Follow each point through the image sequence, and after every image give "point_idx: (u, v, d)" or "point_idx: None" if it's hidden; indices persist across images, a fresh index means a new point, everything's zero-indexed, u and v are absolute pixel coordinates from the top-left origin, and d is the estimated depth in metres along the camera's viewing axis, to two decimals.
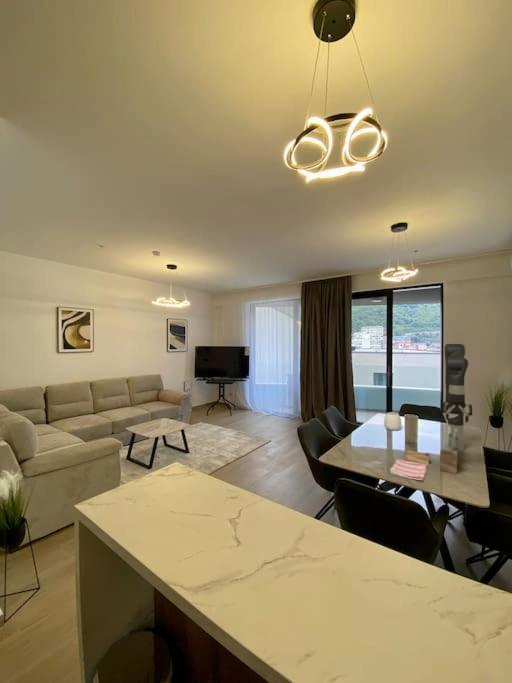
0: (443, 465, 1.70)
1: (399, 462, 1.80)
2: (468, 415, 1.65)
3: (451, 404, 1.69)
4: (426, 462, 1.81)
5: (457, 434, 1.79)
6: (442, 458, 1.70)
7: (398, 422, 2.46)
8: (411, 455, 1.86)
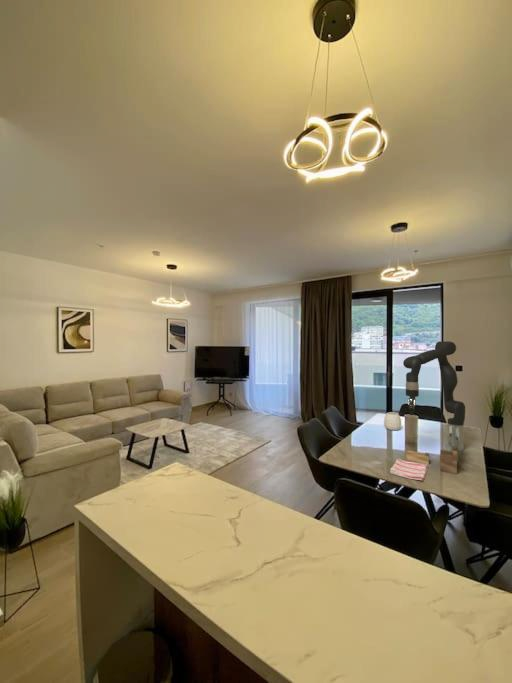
0: (443, 465, 1.70)
1: (399, 462, 1.80)
2: None
3: (413, 399, 1.91)
4: (426, 462, 1.81)
5: (457, 434, 1.80)
6: (442, 458, 1.70)
7: (398, 422, 2.46)
8: (411, 455, 1.86)
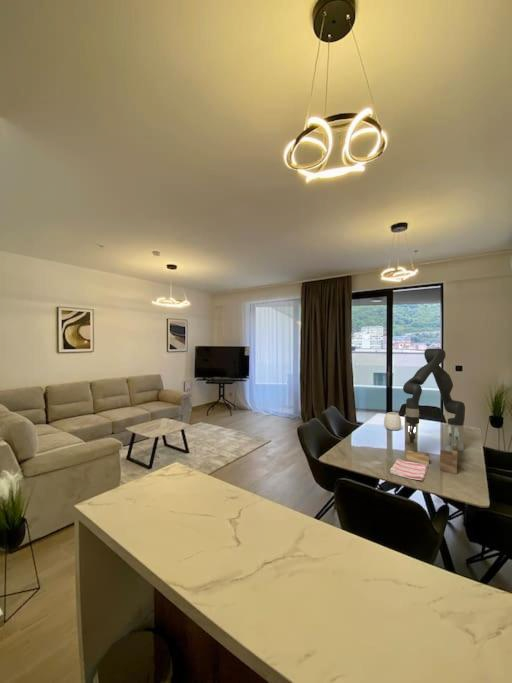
0: (443, 465, 1.70)
1: (399, 462, 1.80)
2: (415, 432, 1.91)
3: (414, 426, 1.84)
4: (426, 462, 1.81)
5: (457, 433, 1.80)
6: (442, 458, 1.70)
7: (398, 422, 2.46)
8: (411, 455, 1.86)
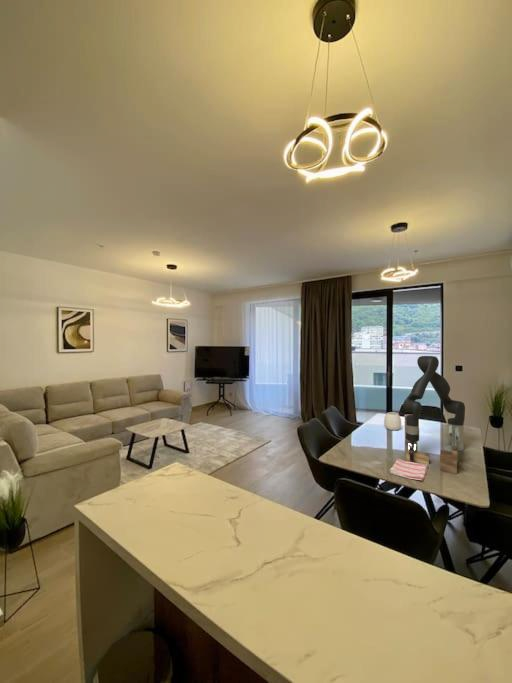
0: (443, 465, 1.70)
1: (399, 462, 1.80)
2: (415, 449, 1.91)
3: (414, 444, 1.84)
4: (426, 462, 1.81)
5: (457, 433, 1.80)
6: (442, 458, 1.70)
7: (398, 422, 2.46)
8: None
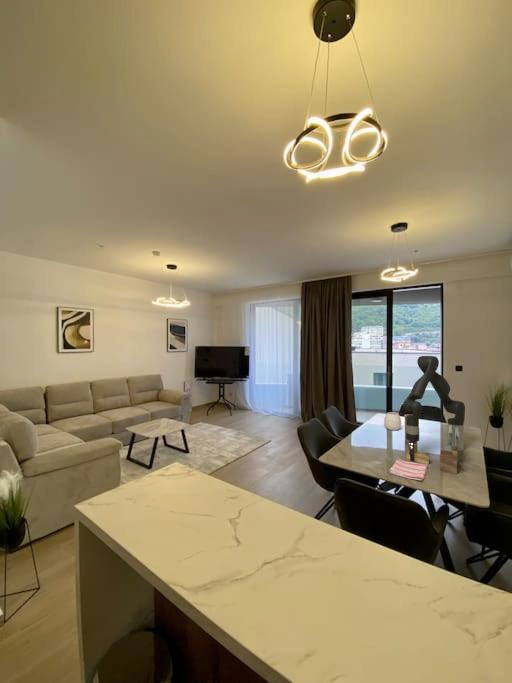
0: (443, 465, 1.70)
1: (399, 462, 1.80)
2: None
3: (414, 445, 1.84)
4: (426, 462, 1.81)
5: (457, 433, 1.81)
6: (442, 458, 1.70)
7: (398, 422, 2.46)
8: None
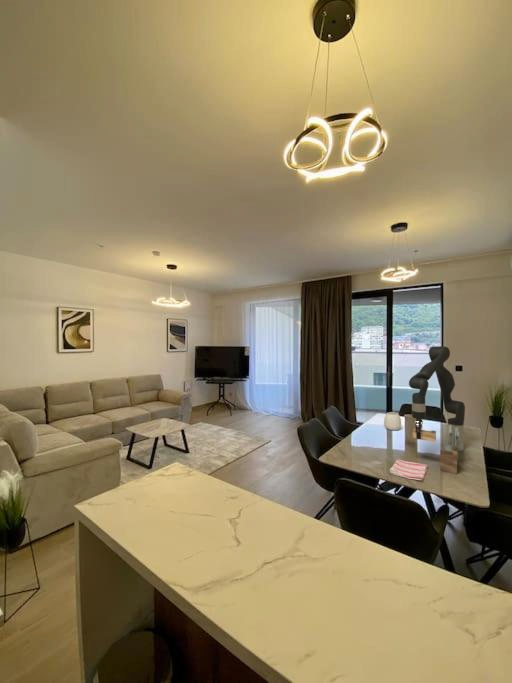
0: (443, 465, 1.70)
1: (399, 463, 1.79)
2: None
3: (420, 423, 1.81)
4: (432, 439, 1.78)
5: (457, 433, 1.81)
6: (442, 458, 1.70)
7: (398, 422, 2.46)
8: None
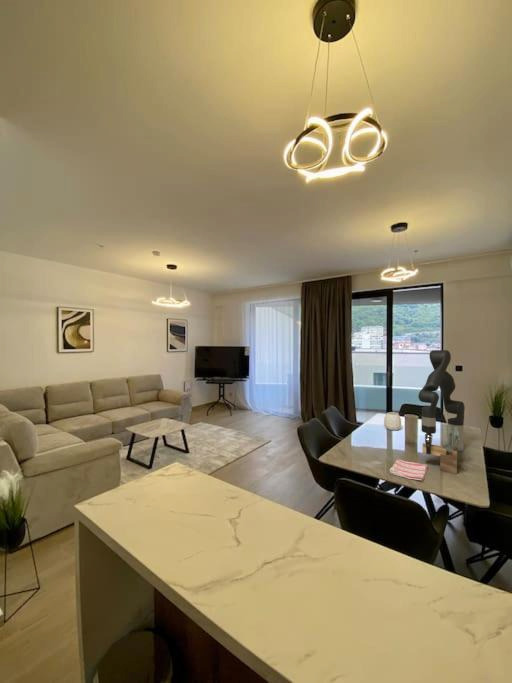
0: (443, 465, 1.70)
1: (399, 463, 1.79)
2: None
3: (430, 437, 1.76)
4: None
5: (457, 433, 1.81)
6: (442, 458, 1.70)
7: (398, 422, 2.46)
8: None
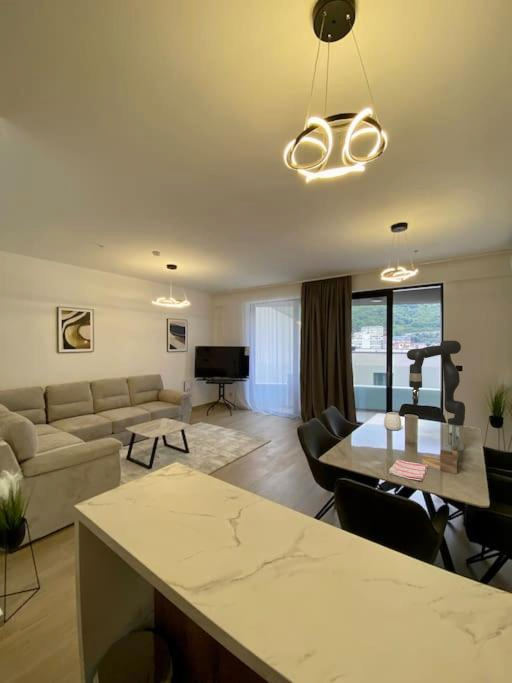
0: (443, 465, 1.70)
1: (399, 463, 1.79)
2: (418, 397, 1.98)
3: (417, 390, 1.92)
4: None
5: (458, 433, 1.81)
6: (442, 458, 1.70)
7: (398, 422, 2.46)
8: (426, 459, 1.78)
